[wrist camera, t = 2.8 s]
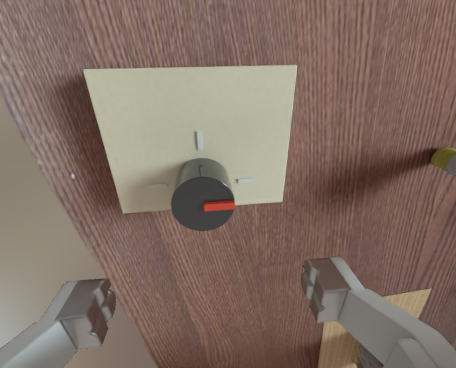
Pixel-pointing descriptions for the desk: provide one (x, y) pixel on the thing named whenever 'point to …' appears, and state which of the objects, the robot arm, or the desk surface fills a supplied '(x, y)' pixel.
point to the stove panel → (194, 128)
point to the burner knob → (202, 195)
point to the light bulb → (445, 159)
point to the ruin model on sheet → (350, 347)
